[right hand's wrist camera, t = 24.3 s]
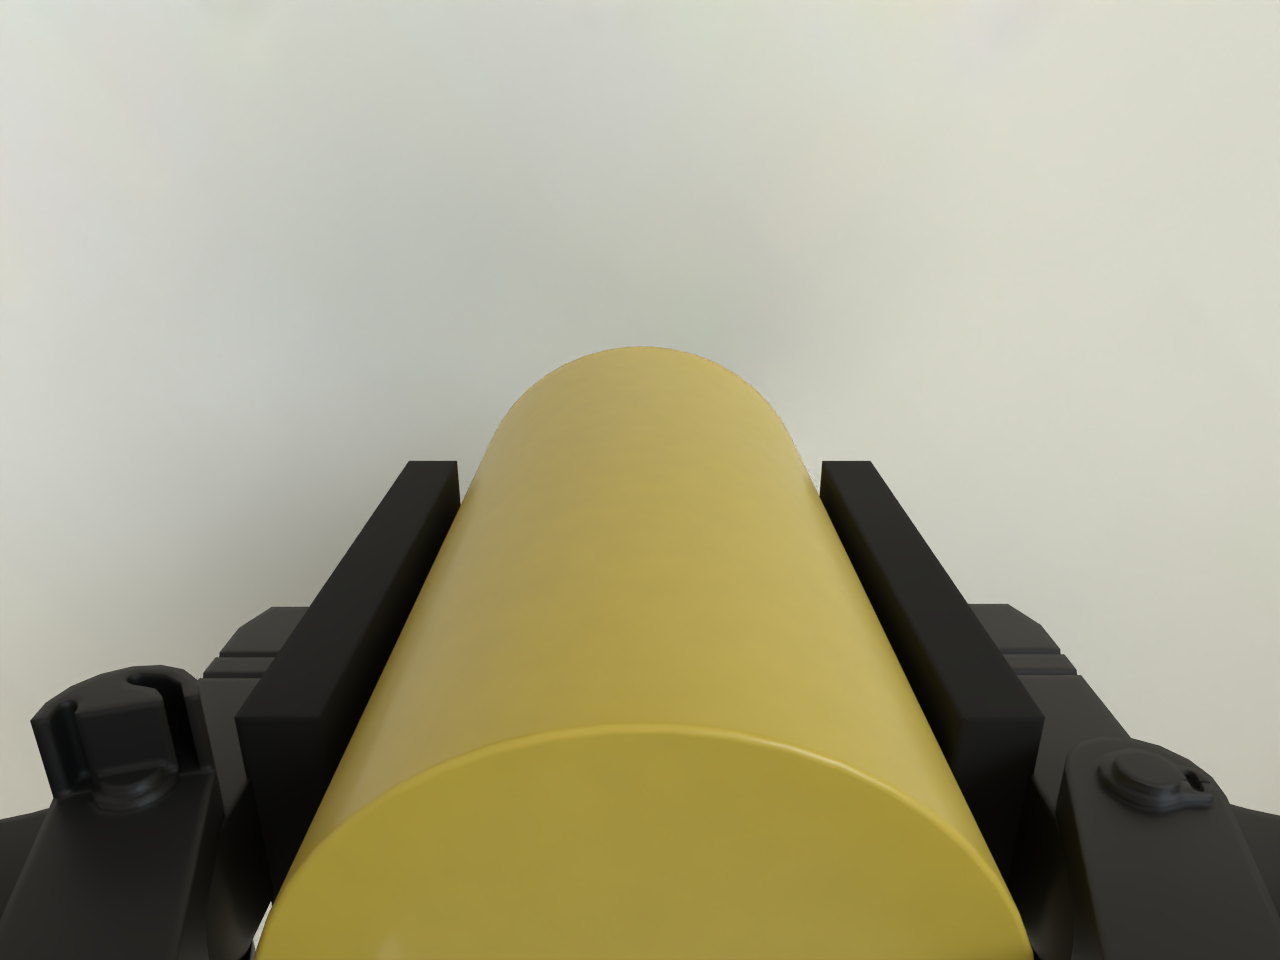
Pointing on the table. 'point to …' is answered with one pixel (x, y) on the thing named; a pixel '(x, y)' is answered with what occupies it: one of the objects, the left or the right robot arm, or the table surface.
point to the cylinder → (643, 716)
